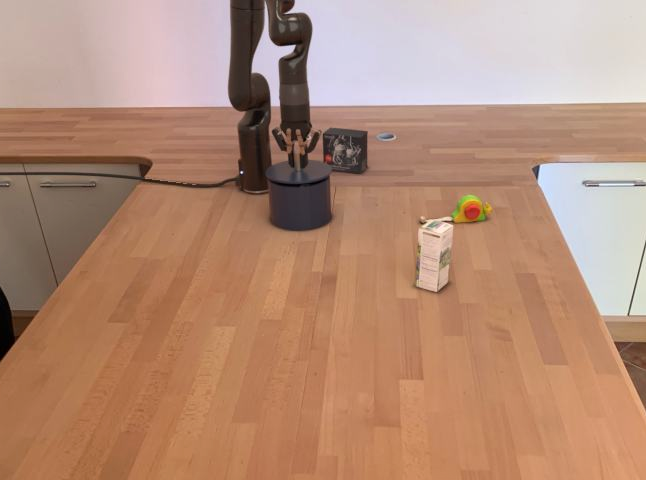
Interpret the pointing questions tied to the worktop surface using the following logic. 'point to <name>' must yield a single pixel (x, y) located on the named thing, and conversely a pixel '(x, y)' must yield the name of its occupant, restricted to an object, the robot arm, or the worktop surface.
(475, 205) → the toy measuring tape
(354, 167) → the small box
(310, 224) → the tin
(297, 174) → the tin lid
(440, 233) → the syrup box
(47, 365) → the worktop surface
